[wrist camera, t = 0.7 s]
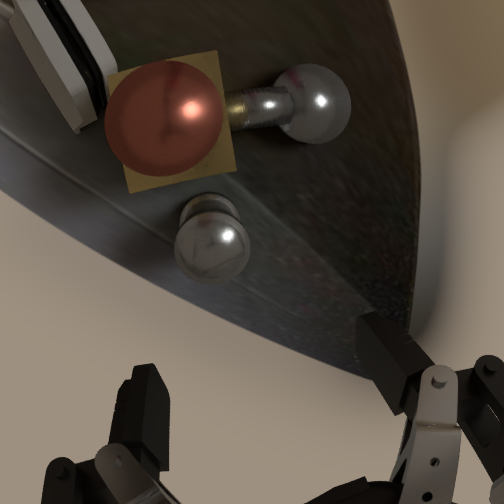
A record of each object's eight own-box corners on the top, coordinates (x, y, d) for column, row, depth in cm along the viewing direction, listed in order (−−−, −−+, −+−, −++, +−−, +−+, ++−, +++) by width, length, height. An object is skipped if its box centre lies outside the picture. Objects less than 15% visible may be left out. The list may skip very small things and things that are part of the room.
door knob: (174, 198, 25) (165, 222, 19) (233, 186, 26) (244, 206, 19) (187, 252, 28) (184, 290, 21) (242, 241, 28) (255, 276, 22)
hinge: (11, 27, 15) (-13, -25, 6) (50, 1, 16) (40, -58, 7) (78, 138, 22) (59, 108, 13) (121, 107, 23) (126, 63, 14)
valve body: (131, 89, 21) (86, 65, 11) (334, 62, 22) (404, 36, 13) (148, 176, 24) (113, 209, 14) (345, 144, 26) (419, 159, 16)
